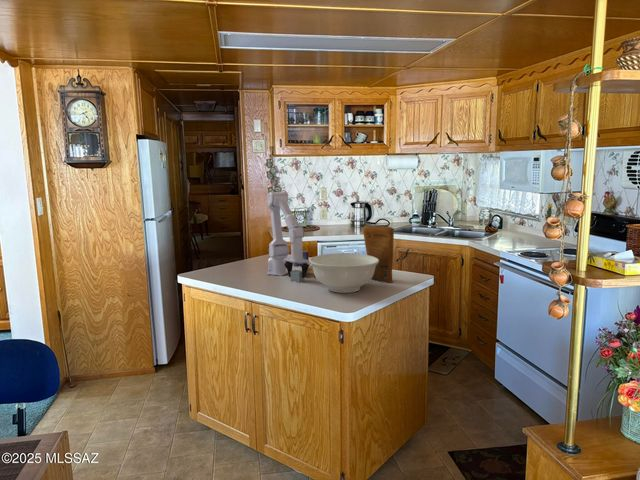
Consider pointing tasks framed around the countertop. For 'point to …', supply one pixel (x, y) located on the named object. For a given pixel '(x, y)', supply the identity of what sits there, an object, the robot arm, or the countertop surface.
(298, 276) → the slate block
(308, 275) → the walnut slab
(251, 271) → the countertop surface
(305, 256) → the flask
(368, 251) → the pancake mix bag
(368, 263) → the bowl
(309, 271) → the oak slab
